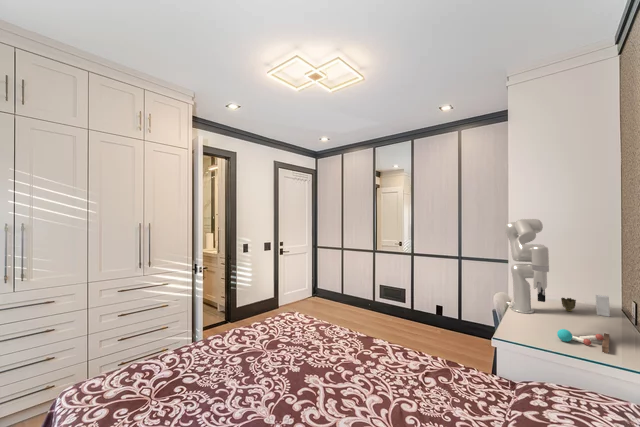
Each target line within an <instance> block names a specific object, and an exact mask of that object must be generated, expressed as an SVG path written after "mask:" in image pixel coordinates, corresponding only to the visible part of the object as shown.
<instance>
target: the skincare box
mask: <svg viewBox="0 0 640 427" xmlns="http://www.w3.org/2000/svg"><path fill="white" fill-rule="evenodd" d="M609 298H610V297H609V295H601V294H595V305H596V306H595V307H596V315H597V316H602V317H611V310H610V299H609Z"/></svg>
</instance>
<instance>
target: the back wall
mask: <svg viewBox="0 0 640 427" xmlns="http://www.w3.org/2000/svg"><path fill="white" fill-rule="evenodd" d="M602 336H603V340H602V343H601V350H602V351H601V353H602V352H604V353H603V354H607V353H608V354H609V352H608V351H610V350H609V349H610V340H611V336H610V333H605V332H603V335H602Z"/></svg>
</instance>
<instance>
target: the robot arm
mask: <svg viewBox="0 0 640 427" xmlns="http://www.w3.org/2000/svg"><path fill="white" fill-rule="evenodd" d="M504 229H505V234H506V236H507V238H508V240H509V244H510V252H511V258H512V260H513V261H514V262H518V263H514V264H512V265H511V266H510V271H511V277H512V287H513V288H512V289H513V291H512V292H513V301H511V302H510V301H506V305H507V306H509V307H510V306H511V307H510V308H511V311H514V312H517V313H521V314H533V313H534V312H535V309H534V308H532V298H531V296H532V295H531V294H532V293H531V285H530V283H529V282H528V280H527V279H533V280H532V283H533V288H532V289H534V290H535V289H536V290H537V302H543V303H545V302H546V289H547V287H548V273H550V264H549V263H550V260H549V259H550V257H549V248H548V247H547V246H546V245H544V244H540V243H539V244H532V243H531V242H533V241H534V240H536V238H537V234H538V233H540V232H542V230H543V222H542V221H541V220H540V219H539V218H524V219H523V218H522V219H518V220H516V221H512V222H508V223H506V224H505V227H504ZM530 243H531V244H530Z"/></svg>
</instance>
